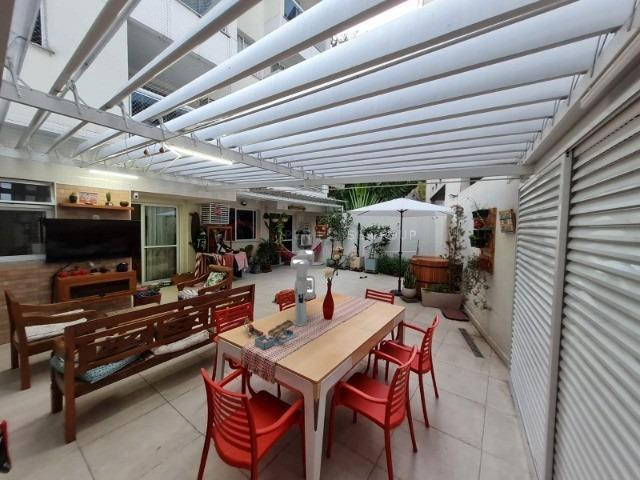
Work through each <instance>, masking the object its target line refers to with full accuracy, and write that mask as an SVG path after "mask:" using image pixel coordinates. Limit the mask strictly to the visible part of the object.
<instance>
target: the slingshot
mask: <svg viewBox="0 0 640 480" xmlns="http://www.w3.org/2000/svg"><path fill="white" fill-rule="evenodd" d="M246 324H247V326H246ZM243 326H244V328H245V330H246V331H247V335H248V337H254V338H258V337H260V336H262V335H264V331H261V330H258V329H256V328H255V327H254V325H253V324H252V320H249V317H246V318H244V323H243ZM249 332H251V333H252V332H253V333H255V334H257V335H251V334H250V333H249Z"/></svg>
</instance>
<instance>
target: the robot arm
mask: <svg viewBox="0 0 640 480" xmlns="http://www.w3.org/2000/svg"><path fill="white" fill-rule="evenodd" d="M314 262H315V252H314V250H312V249H299V250H298V251H297V253H296V255H294V256H292V257H291V260H290V268H291V269H292V270H296V272H295V273H296V278H295V279H296V280H295V281H294V289H293V290H294V291H293V293H294V299H295V306H294V307H295V310H294V312H295V314H294V320H293V326H296V327H305V326H307V325H308V323H309V322H308V320H309V319H310V316H307V302H306V301H305V300H313V299H315V296H316V279H315V276H314V275H308V273H307V272H308V269H309V268H310V266H312V265H314Z"/></svg>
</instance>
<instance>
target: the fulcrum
mask: <svg viewBox="0 0 640 480" xmlns="http://www.w3.org/2000/svg"><path fill="white" fill-rule="evenodd" d="M278 325H279V324H277V325H276V326H278ZM280 334H282V335H285V336H287V338H286V339H285V340H282V339H280V338H278V337H272V336H270V337H268V339H270V340H272V339H275V346H274V347H277V346H280V345H282V344H284V343H286V342H289V341H291V340H292V339H295V338H297V337H298V335H297V334H295V333H294V331H292V330H290V329H286V328H285V329H283V332H281V333H280Z"/></svg>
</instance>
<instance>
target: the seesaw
mask: <svg viewBox="0 0 640 480" xmlns="http://www.w3.org/2000/svg"><path fill="white" fill-rule="evenodd" d="M293 322H294V320H290V319H286V320H285V321H284V322H282V323H280V324H277V325H278V326H277V325H275V326H274V327H273V328H271V329H269V330H268V331H267V334H268V335H269V336H270V337H271V338H272V337H278V338H280V339H282V340H285V339H286V338H287V336H285V335H282V334H281V333H283V329H285V328H286V329H287V330H289V329H290V328H291V327H293V326H294V324H293Z"/></svg>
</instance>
